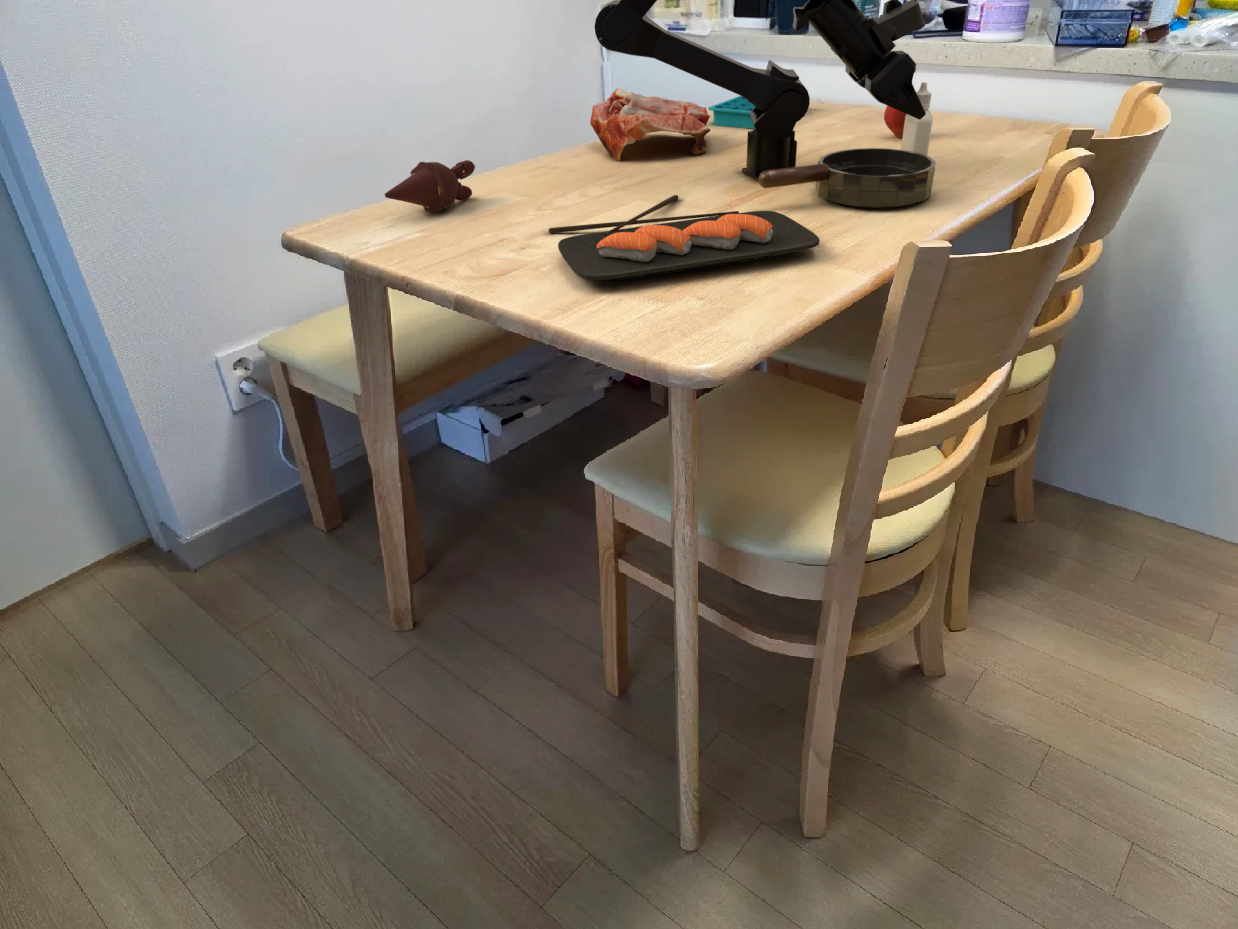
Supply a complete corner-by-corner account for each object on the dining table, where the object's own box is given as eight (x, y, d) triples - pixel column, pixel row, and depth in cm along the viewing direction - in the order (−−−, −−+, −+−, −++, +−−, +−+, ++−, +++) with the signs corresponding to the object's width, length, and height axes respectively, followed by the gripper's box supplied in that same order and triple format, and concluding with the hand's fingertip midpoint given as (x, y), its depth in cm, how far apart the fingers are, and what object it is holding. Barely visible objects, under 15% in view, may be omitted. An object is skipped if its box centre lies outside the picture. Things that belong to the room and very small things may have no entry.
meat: (659, 128, 155) (658, 70, 150) (739, 145, 141) (741, 81, 135) (569, 148, 145) (564, 86, 140) (644, 168, 131) (642, 101, 125)
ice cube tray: (705, 125, 156) (705, 108, 154) (755, 105, 169) (755, 89, 168) (760, 130, 150) (761, 112, 148) (807, 109, 163) (809, 93, 162)
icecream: (403, 180, 106) (491, 166, 116) (369, 158, 109) (458, 146, 119) (401, 230, 111) (486, 212, 120) (368, 208, 114) (454, 192, 124)
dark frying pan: (851, 217, 106) (855, 181, 103) (796, 187, 118) (799, 155, 116) (953, 202, 109) (959, 167, 107) (890, 175, 121) (894, 143, 119)
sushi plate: (582, 296, 88) (579, 262, 86) (528, 217, 112) (525, 189, 110) (828, 259, 94) (832, 225, 92) (727, 191, 118) (727, 164, 116)
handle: (762, 190, 107) (763, 173, 106) (755, 186, 109) (755, 169, 108) (832, 181, 110) (834, 164, 108) (824, 177, 111) (826, 160, 110)
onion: (913, 133, 143) (920, 82, 139) (920, 140, 138) (928, 89, 134) (879, 133, 144) (885, 84, 139) (884, 141, 139) (891, 90, 134)
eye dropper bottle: (892, 173, 122) (904, 85, 116) (900, 164, 126) (912, 78, 120) (922, 175, 121) (936, 86, 114) (930, 166, 125) (943, 79, 118)
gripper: (910, -18, 102) (983, 75, 108) (877, -26, 118) (942, 55, 123) (839, 56, 107) (913, 141, 112) (816, 38, 123) (882, 114, 128)
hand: (914, 110), depth 119 cm, fingers open, 9 cm apart
